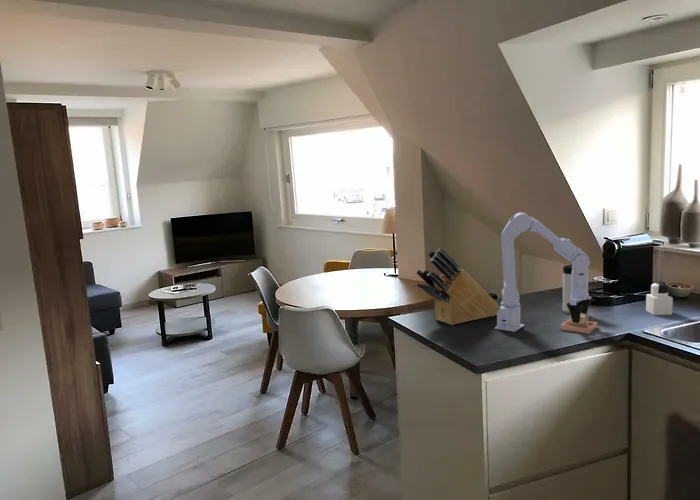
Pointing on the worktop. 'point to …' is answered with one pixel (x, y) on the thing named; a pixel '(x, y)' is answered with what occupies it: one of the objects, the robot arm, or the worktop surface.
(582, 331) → the terracotta tray
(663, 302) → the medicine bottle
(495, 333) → the worktop surface
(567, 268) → the travel mug
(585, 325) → the beech block
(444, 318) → the knife block
